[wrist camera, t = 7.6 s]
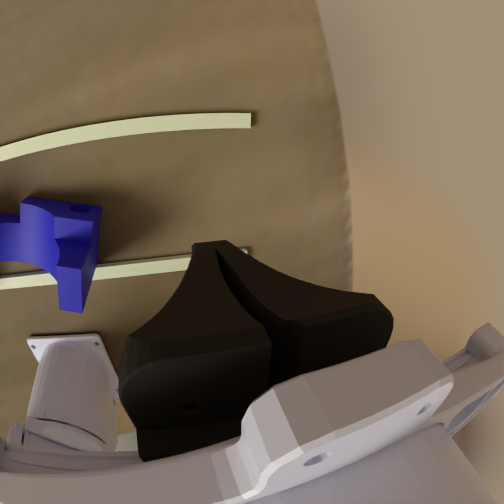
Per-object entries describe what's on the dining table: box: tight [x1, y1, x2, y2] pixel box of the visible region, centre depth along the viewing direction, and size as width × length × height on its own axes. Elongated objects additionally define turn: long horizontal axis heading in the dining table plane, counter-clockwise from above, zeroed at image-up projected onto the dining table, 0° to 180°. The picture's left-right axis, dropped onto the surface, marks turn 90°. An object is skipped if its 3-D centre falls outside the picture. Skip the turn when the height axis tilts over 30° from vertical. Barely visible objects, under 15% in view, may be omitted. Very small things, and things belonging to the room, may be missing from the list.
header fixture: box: [0, 113, 251, 289], centre depth 15 cm, size 11×24×5 cm, turn 88°
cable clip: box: [0, 197, 101, 313], centre depth 14 cm, size 12×4×6 cm, turn 73°
